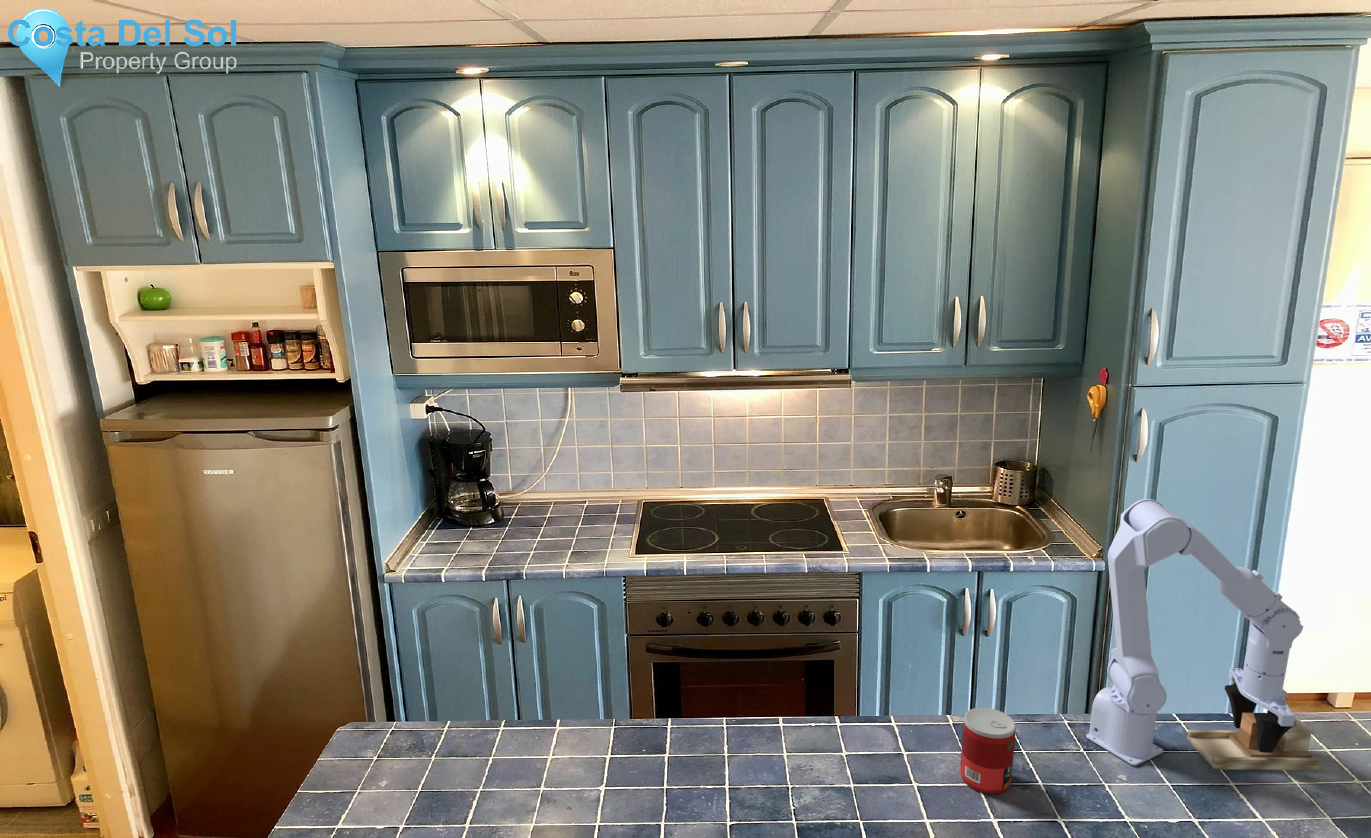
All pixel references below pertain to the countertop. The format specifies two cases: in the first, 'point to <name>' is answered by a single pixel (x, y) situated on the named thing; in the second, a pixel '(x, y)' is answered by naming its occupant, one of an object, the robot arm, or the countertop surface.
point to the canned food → (987, 750)
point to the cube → (1296, 737)
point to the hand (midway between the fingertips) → (1253, 739)
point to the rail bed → (1240, 754)
